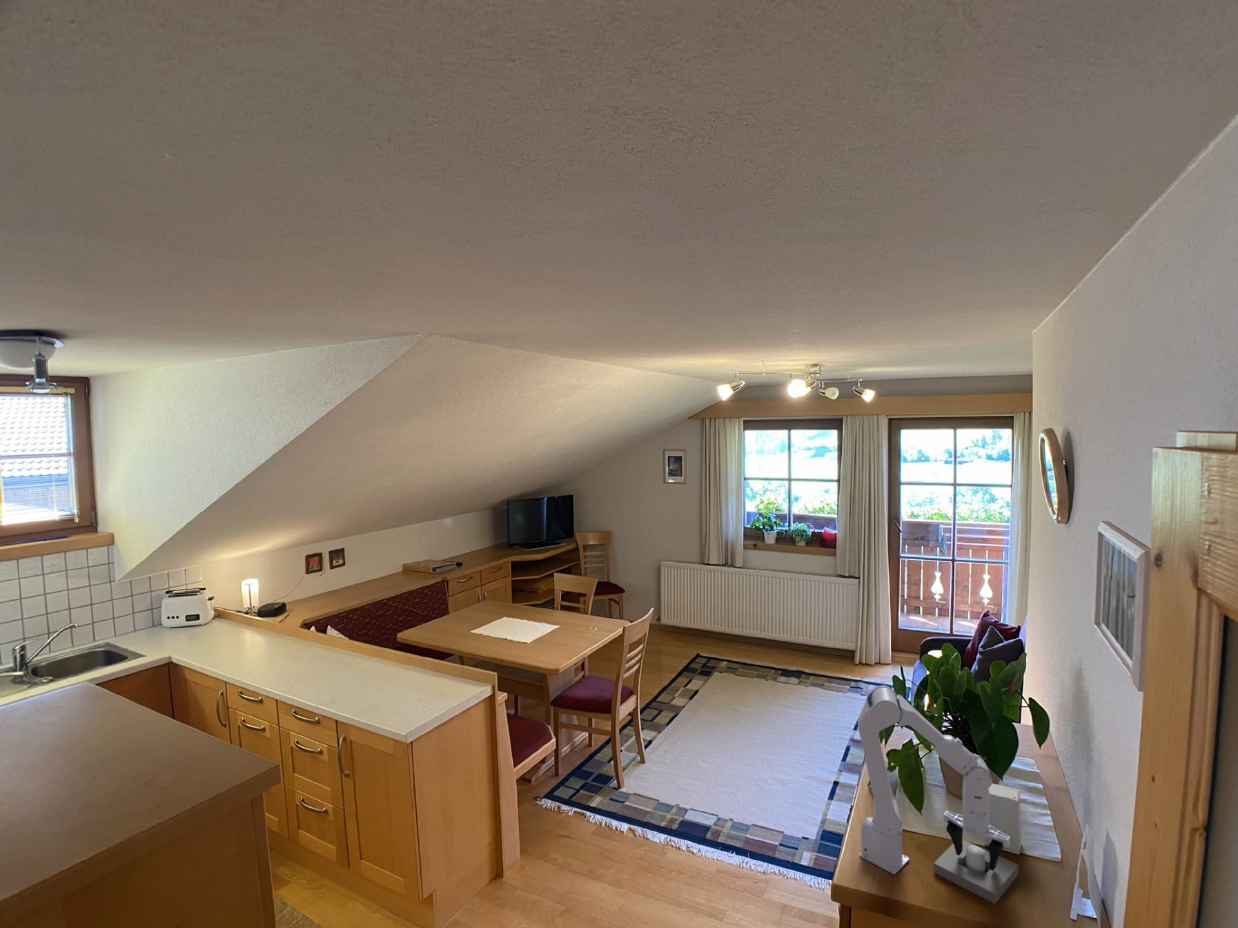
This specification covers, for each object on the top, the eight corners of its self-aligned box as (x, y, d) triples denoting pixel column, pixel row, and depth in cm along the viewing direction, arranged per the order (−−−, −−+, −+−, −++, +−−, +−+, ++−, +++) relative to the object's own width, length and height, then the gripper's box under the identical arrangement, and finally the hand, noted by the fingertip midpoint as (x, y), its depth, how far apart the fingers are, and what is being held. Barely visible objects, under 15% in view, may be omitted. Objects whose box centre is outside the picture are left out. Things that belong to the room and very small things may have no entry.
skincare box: (1021, 843, 170) (1021, 788, 169) (1019, 856, 165) (1019, 800, 164) (984, 832, 175) (984, 779, 174) (981, 844, 170) (981, 790, 169)
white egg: (963, 873, 160) (963, 850, 159) (970, 865, 163) (969, 842, 162) (981, 881, 157) (981, 858, 156) (987, 873, 160) (987, 850, 159)
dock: (933, 872, 161) (933, 862, 161) (958, 846, 170) (958, 837, 169) (995, 903, 150) (995, 893, 150) (1018, 874, 159) (1018, 864, 159)
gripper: (938, 802, 161) (938, 854, 162) (1003, 828, 150) (1003, 883, 151) (949, 790, 166) (949, 840, 167) (1013, 814, 155) (1013, 868, 156)
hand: (975, 860), depth 159 cm, fingers open, 7 cm apart
